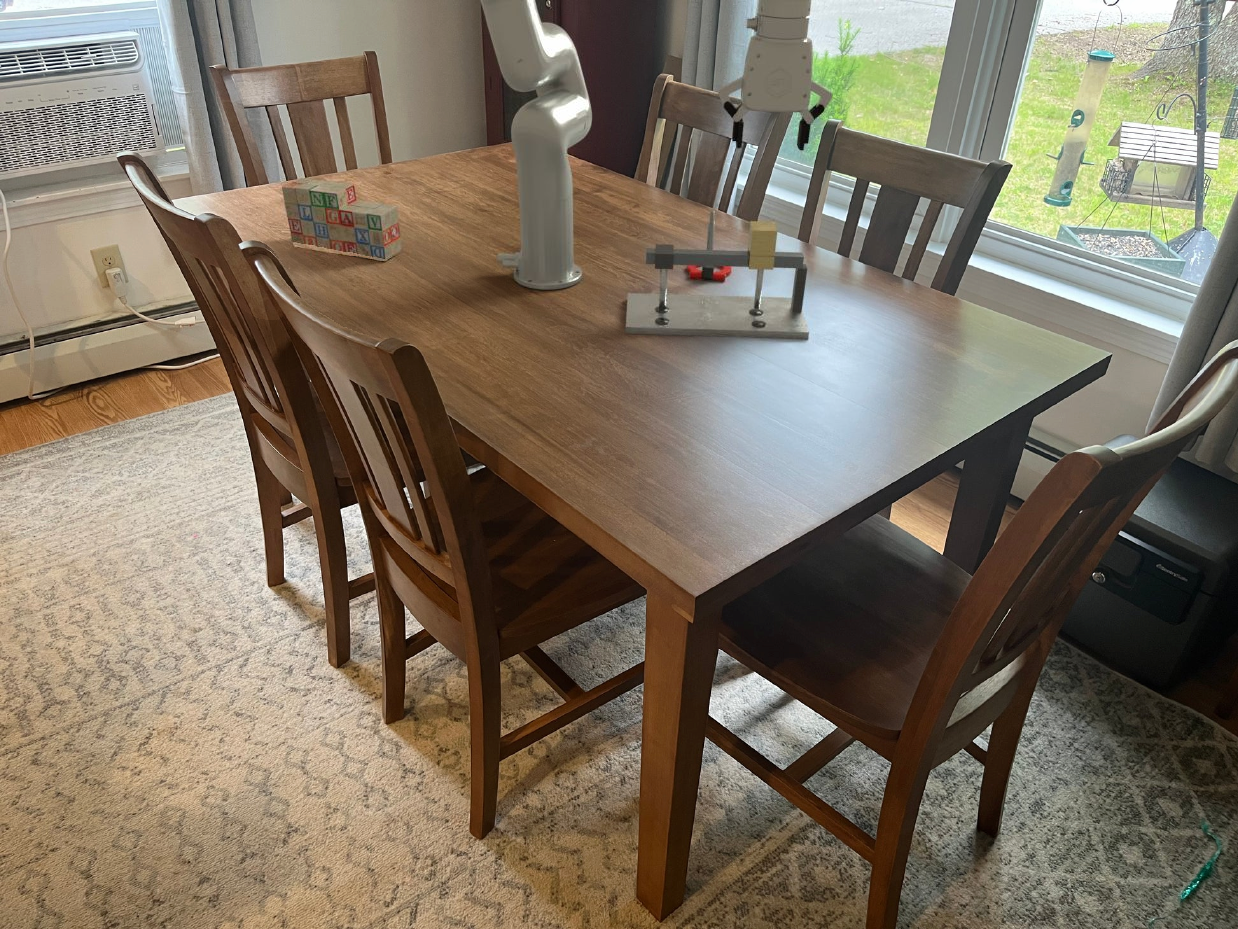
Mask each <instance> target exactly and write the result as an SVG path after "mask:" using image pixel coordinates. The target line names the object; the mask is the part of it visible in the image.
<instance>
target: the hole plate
mask: <svg viewBox="0 0 1238 929" xmlns="http://www.w3.org/2000/svg"><path fill="white" fill-rule="evenodd" d="M754 300H755V296H749V295H748V296H747V295H746V296H744V295H743V296H741V295H739V296H738V295H715V294H714V295H712V294H711V295H710V294H709V295H707V294H678V293H676V294H673V293H672V294H671V293H669V294H668V293H666V310H663V311H661V310H659V293H642V292H641V293H640V292H639V293H638V292H637V293H636V292H634V293H633V292H627V300H626V302H627V303H626V317H625V318H626V319H625V334H627V335H628V334H630V335H631V334H632V335H658V336H661V335H663V336H664V335H665V336H669V335H670V336H696V337H724V338H725V337H726V338H727V337H729V338H731V337H733V338H734V337H735V338H758V339H759V338H760V339H761V338H764V339H765V338H767V339H793V338H800V339H799V340H801V338H803V339H802V340H804V339H805V338H807V339H805V340H808V339H809V338H810V337H809V336H810V330H809V327H808V323H807V321H806V318H805V315H804V312H803V310H802V312H792V309H791V302H792V297H784V296H783V297H777V296H774V297H773V296H772V297H771V296H761V300H760V308H759V309H755V308H754Z"/></svg>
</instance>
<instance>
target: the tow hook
mask: <svg viewBox="0 0 1238 929" xmlns="http://www.w3.org/2000/svg"><path fill="white" fill-rule="evenodd" d="M709 214H710V215H709V221H708V225H707V234H706V235H707V237H706V249H705V250H714V241H715V229H716V227H715V225H716V222H715V217H716V216H715V214H716V211H715V210H713V209H712V210H710V213H709ZM698 267H700V266H695V265H686V271H687V272H688V273H689V279H691V280H692V279H693V280H701V281H708V280H713V281H715V280H716V281H718V282H725V281H726V277H727V276H730V275H731V274H732V267H731V266H716V268H719V269H720V270H719V271H715V266H701V267H702V268H701V269H698Z"/></svg>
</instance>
